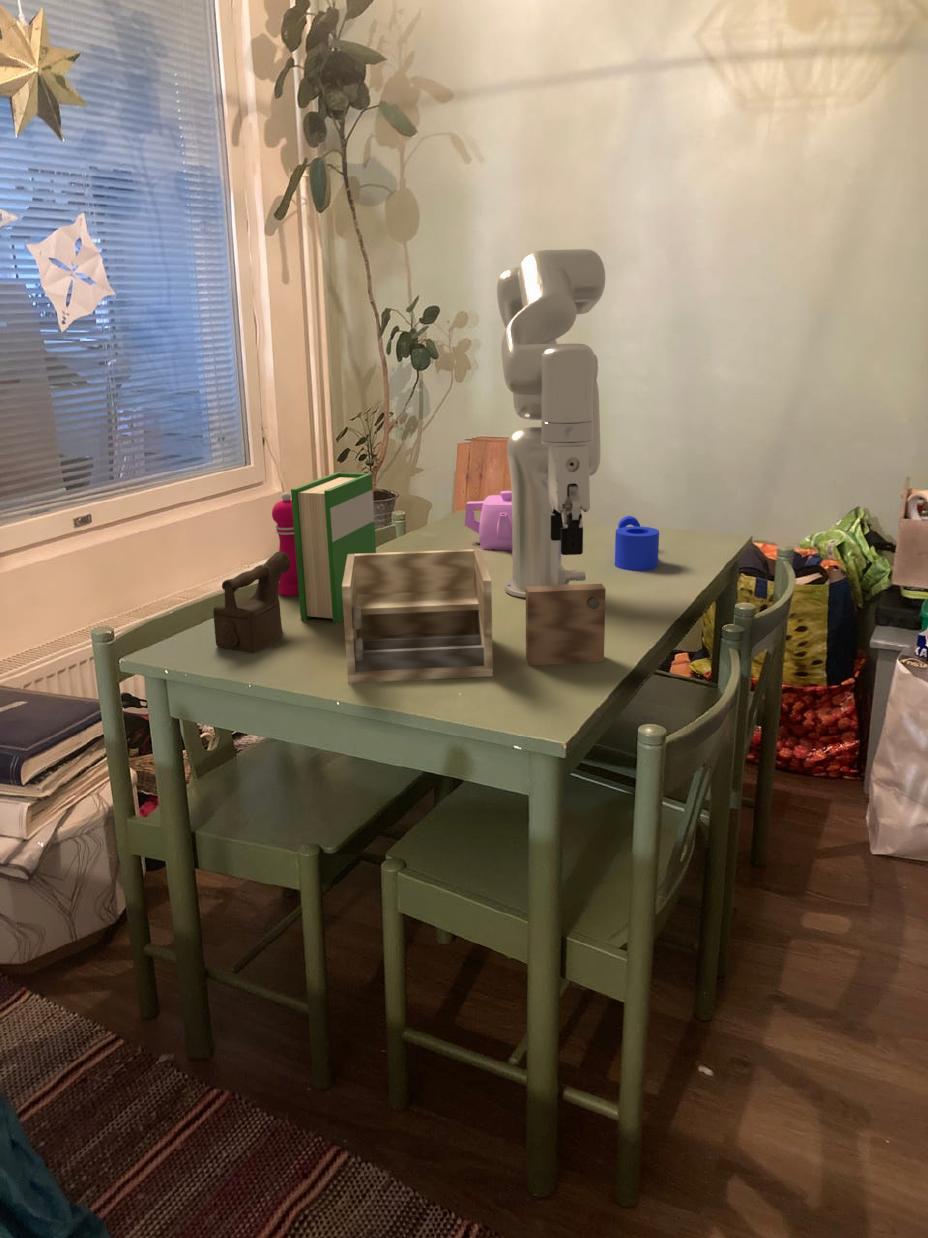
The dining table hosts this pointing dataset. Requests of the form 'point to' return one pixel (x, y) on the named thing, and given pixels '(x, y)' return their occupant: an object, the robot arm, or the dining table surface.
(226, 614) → the clothes iron
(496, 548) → the teakettle
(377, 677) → the wooden shelf rack
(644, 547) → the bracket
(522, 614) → the dining table surface
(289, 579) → the pepper mill
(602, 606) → the wooden block
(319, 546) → the hardback book
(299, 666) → the dining table surface
